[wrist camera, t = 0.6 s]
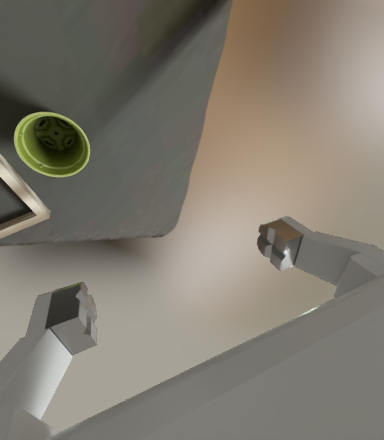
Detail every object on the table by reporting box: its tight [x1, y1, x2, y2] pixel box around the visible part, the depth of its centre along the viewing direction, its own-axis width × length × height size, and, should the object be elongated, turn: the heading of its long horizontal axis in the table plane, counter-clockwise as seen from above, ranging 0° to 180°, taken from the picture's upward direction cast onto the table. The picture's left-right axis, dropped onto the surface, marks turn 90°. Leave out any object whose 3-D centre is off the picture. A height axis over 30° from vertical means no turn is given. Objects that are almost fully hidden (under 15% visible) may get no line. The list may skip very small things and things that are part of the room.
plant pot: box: [14, 112, 90, 177], centre depth 34 cm, size 9×9×9 cm
